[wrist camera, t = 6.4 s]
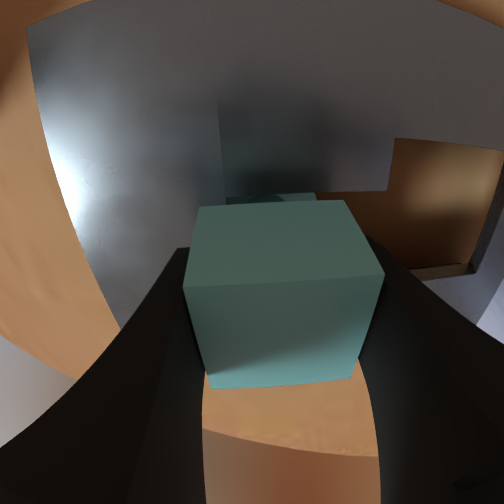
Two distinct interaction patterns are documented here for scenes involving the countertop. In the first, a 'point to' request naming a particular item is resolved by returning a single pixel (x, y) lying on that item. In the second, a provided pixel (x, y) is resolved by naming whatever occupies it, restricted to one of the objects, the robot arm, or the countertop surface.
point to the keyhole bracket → (255, 117)
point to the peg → (280, 290)
